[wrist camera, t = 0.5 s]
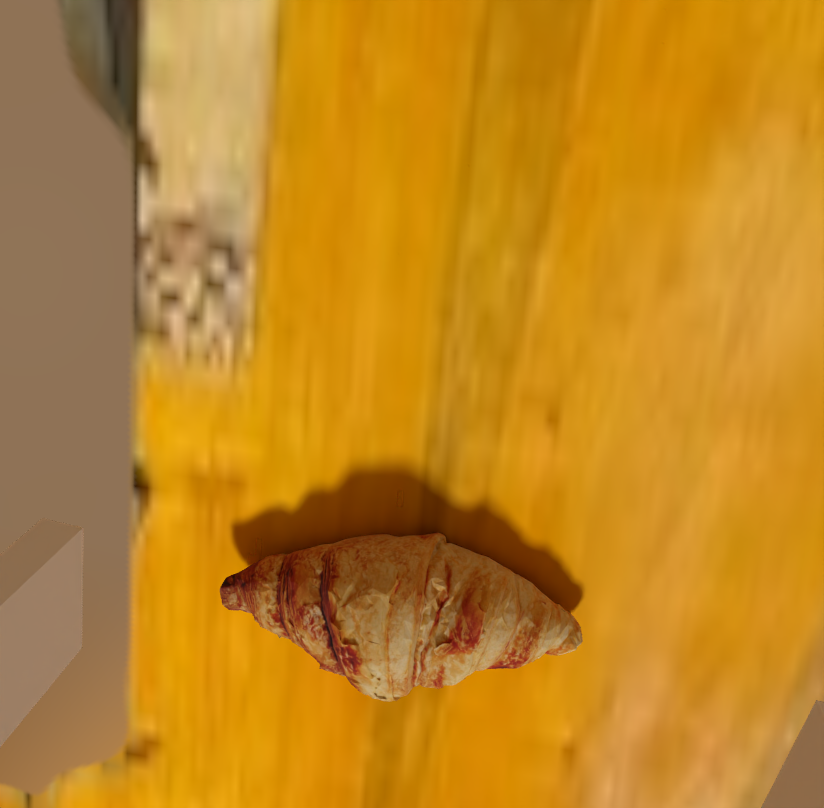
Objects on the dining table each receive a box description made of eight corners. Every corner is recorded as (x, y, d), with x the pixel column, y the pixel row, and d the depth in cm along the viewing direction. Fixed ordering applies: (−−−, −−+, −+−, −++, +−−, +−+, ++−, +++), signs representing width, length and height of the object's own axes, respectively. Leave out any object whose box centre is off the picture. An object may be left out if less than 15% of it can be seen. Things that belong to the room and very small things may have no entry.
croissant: (580, 543, 46) (604, 553, 38) (568, 709, 45) (590, 756, 37) (249, 508, 47) (207, 511, 40) (230, 668, 46) (182, 704, 38)
